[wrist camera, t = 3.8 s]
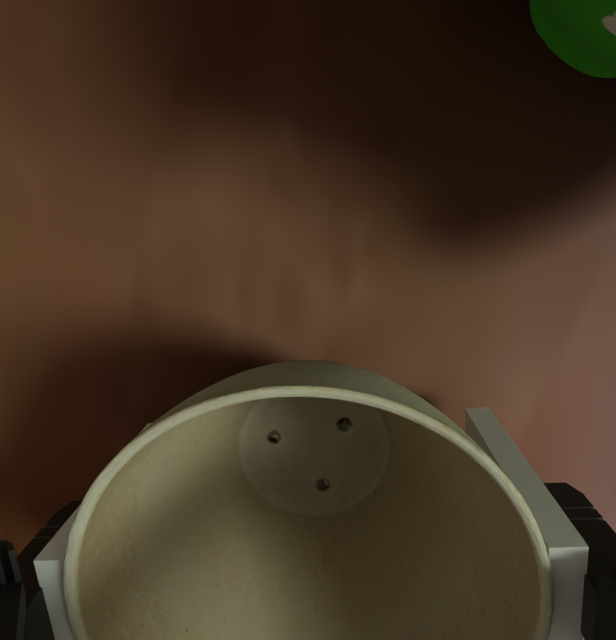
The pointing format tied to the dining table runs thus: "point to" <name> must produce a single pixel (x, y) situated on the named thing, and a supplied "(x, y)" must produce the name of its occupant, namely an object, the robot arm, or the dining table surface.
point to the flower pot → (305, 522)
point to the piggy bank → (579, 33)
